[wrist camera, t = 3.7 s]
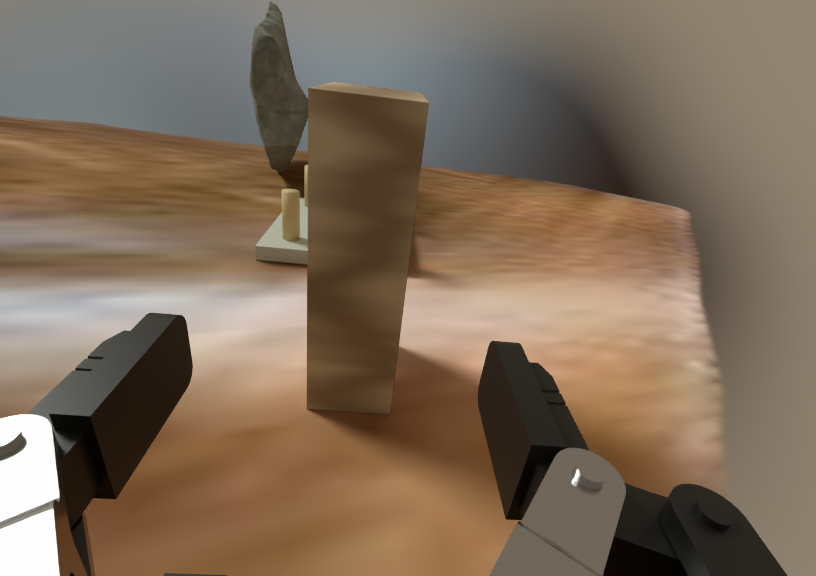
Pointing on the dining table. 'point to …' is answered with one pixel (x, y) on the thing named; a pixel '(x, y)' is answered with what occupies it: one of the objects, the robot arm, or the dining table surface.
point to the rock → (276, 91)
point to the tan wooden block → (359, 239)
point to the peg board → (288, 230)
